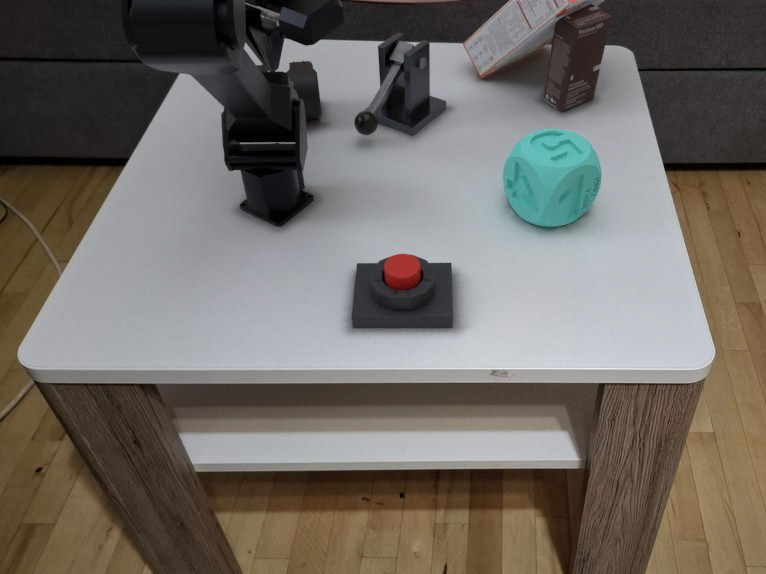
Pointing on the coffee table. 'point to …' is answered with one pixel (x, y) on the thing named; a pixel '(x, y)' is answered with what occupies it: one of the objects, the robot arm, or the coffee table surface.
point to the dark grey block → (304, 86)
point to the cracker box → (517, 31)
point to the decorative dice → (552, 177)
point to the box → (576, 57)
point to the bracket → (408, 88)
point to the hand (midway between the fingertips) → (273, 69)
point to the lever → (382, 91)
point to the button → (402, 271)
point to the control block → (403, 298)
